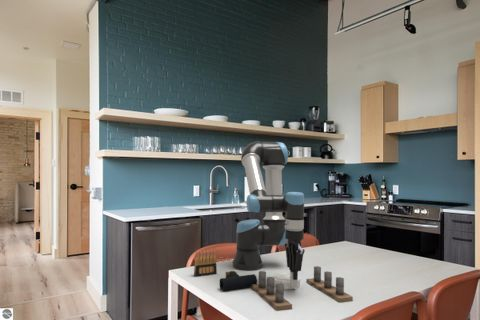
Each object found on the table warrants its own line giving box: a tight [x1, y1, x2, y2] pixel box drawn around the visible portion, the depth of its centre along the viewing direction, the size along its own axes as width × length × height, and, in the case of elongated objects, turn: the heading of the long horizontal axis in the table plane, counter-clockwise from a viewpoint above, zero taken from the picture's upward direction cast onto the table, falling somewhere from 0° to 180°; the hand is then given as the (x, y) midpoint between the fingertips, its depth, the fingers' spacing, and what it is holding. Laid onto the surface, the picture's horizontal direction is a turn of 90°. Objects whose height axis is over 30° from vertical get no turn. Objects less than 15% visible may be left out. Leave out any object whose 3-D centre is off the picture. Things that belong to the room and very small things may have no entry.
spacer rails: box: [251, 265, 354, 312], centre depth 138 cm, size 24×32×8 cm
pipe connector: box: [219, 270, 258, 292], centre depth 147 cm, size 12×5×15 cm
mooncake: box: [272, 272, 301, 290], centre depth 149 cm, size 12×12×4 cm
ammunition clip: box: [193, 248, 218, 278], centre depth 161 cm, size 11×2×12 cm, turn 117°
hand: (293, 286), depth 143 cm, fingers closed
